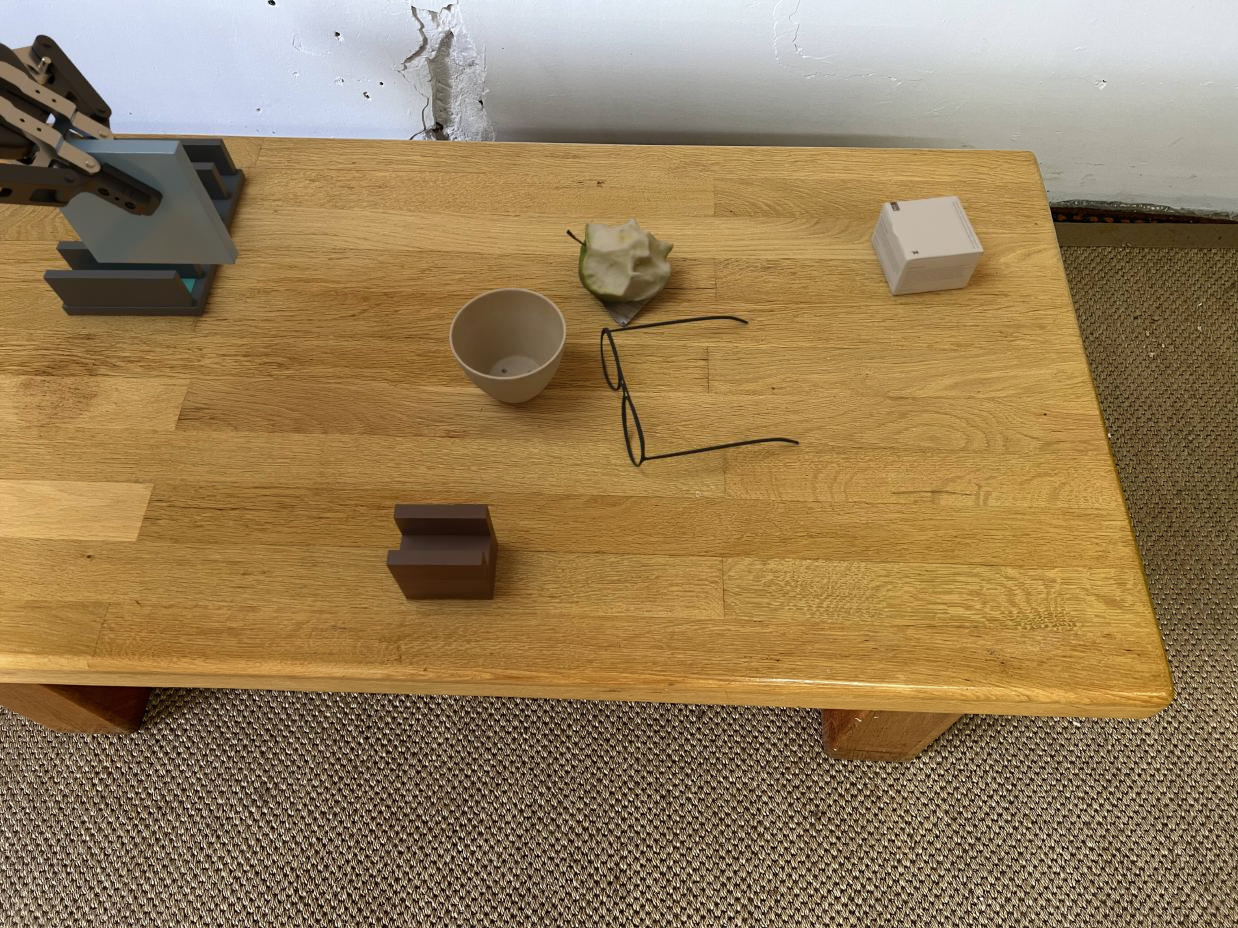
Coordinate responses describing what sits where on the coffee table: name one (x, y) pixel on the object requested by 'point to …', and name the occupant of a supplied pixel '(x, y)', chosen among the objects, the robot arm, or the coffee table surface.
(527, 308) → the flower pot
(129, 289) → the rack
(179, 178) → the plate
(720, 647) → the coffee table surface
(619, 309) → the fruit
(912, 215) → the small box
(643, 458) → the glasses
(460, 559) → the stand
